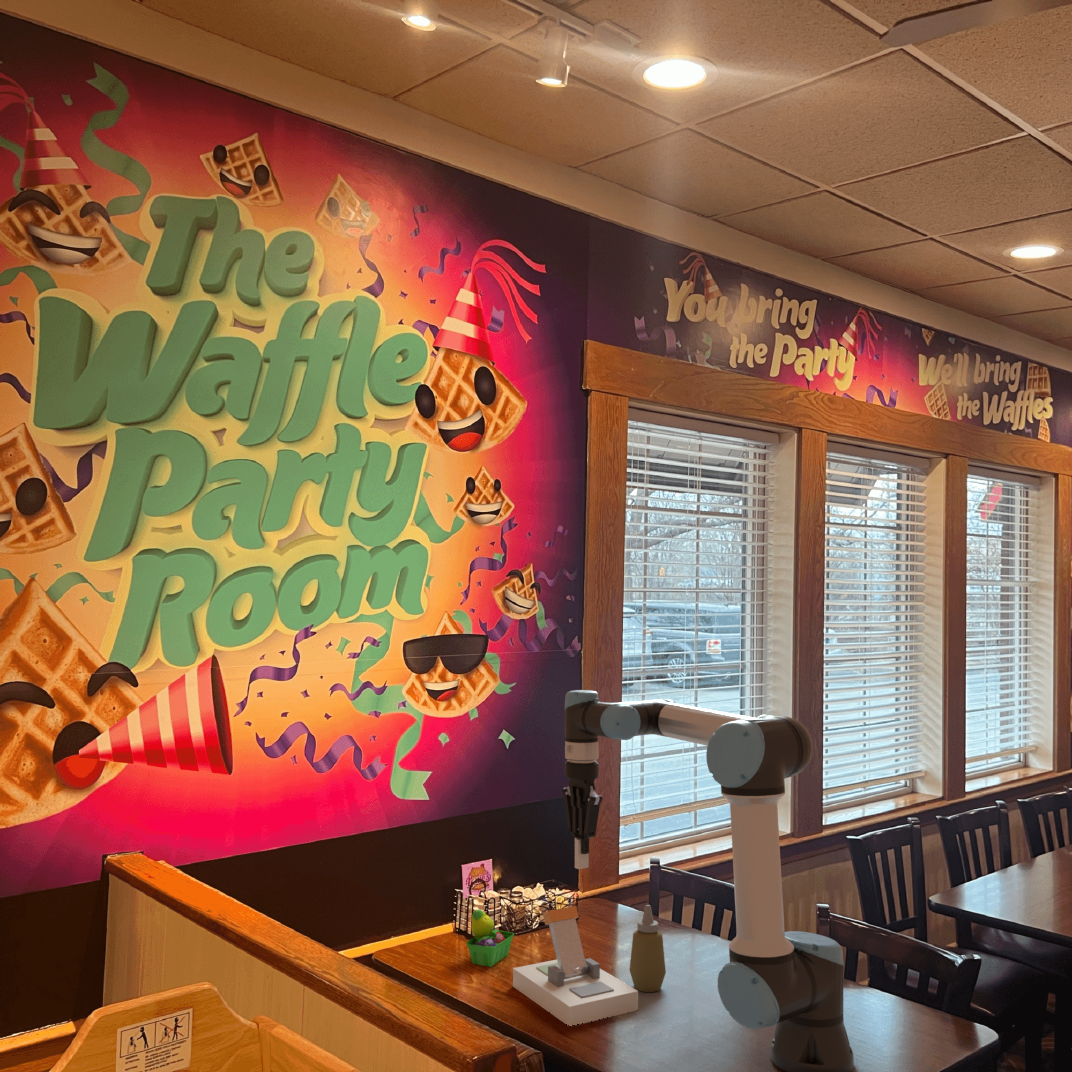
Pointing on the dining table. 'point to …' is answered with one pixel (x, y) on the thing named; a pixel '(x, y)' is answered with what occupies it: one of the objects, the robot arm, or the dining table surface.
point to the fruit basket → (487, 941)
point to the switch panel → (575, 992)
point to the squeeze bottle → (647, 954)
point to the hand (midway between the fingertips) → (581, 867)
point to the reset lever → (567, 941)
